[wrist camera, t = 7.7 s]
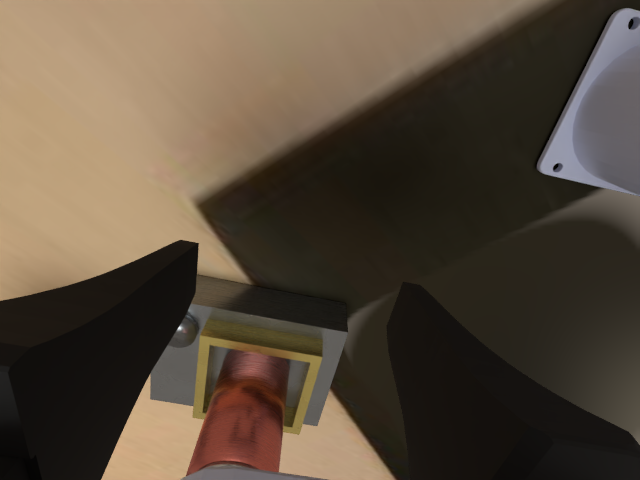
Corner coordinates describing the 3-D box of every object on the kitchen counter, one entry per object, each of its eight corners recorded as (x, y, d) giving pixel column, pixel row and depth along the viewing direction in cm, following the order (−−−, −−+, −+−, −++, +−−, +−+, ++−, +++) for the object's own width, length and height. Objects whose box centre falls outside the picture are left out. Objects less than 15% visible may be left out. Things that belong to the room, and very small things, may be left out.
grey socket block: (345, 303, 25) (349, 350, 21) (318, 392, 29) (316, 446, 25) (147, 265, 24) (109, 306, 20) (146, 363, 27) (115, 414, 23)
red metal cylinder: (294, 350, 23) (281, 484, 16) (284, 396, 25) (268, 534, 18) (225, 339, 22) (179, 472, 15) (220, 387, 24) (178, 524, 17)
